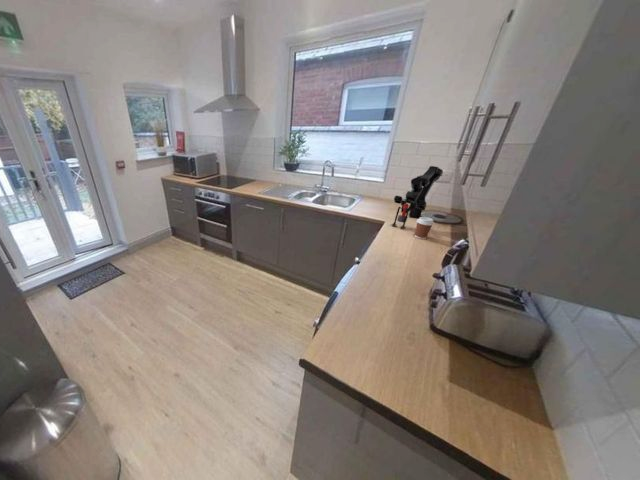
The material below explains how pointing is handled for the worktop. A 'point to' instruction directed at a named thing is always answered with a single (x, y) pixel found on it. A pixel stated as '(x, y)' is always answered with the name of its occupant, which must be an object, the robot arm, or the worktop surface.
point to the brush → (403, 214)
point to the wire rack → (397, 216)
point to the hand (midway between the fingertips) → (403, 212)
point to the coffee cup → (423, 227)
